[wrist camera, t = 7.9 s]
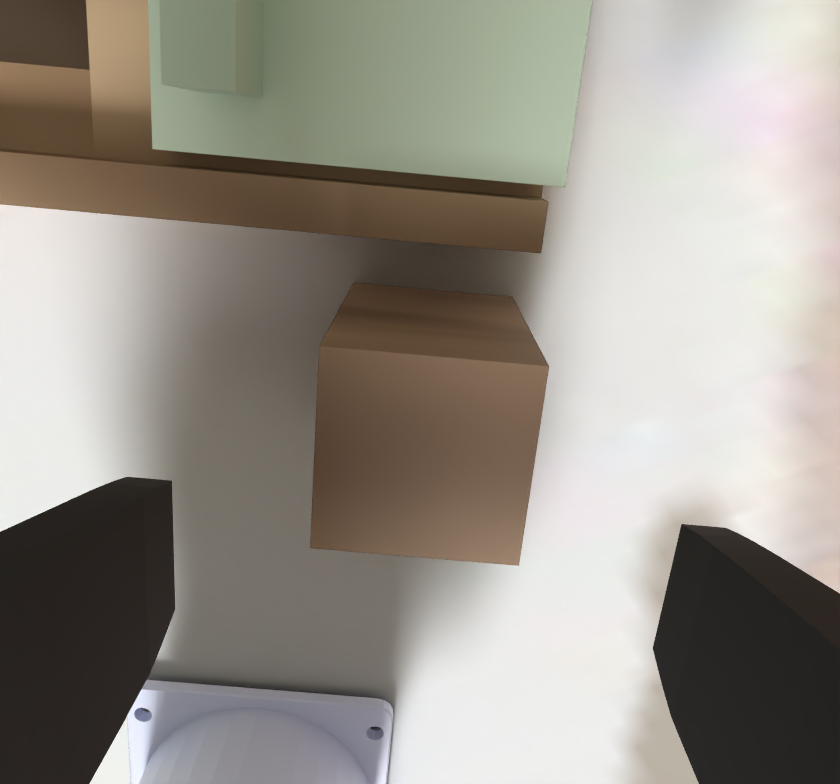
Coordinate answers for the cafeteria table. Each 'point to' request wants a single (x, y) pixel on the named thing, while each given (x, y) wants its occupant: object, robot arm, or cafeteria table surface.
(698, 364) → the cafeteria table surface
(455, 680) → the cafeteria table surface
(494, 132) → the cover
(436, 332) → the block
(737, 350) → the cafeteria table surface
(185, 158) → the tan wooden frame
